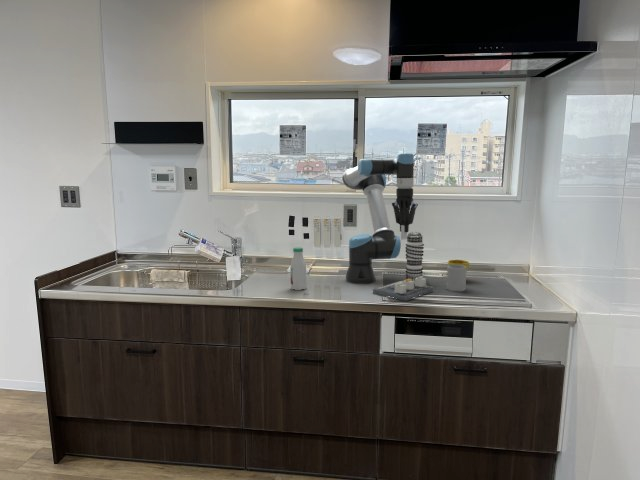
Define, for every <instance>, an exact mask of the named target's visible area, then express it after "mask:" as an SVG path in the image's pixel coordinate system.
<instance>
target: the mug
mask: <svg viewBox="0 0 640 480" xmlns="http://www.w3.org/2000/svg"><path fill="white" fill-rule="evenodd" d="M446 276H447V278H446V289H447V290H448V291H450V290H451V292H465V291H466V290H467V286H466V284H467V273H466V266H463V265H449V266H448V265H447V275H446Z"/></svg>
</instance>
